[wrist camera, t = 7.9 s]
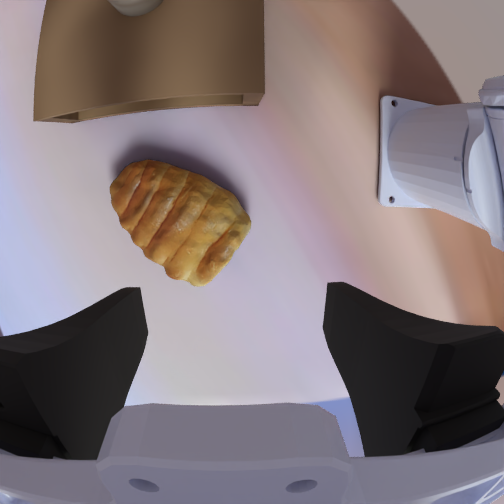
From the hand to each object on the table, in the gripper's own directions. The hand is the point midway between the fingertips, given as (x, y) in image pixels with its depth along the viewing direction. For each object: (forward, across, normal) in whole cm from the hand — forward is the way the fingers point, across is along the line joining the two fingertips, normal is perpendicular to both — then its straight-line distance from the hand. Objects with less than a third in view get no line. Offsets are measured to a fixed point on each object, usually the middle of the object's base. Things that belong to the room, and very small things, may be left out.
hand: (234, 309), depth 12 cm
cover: (+10, +5, -15) cm, 19 cm away
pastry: (+11, +4, -1) cm, 11 cm away
